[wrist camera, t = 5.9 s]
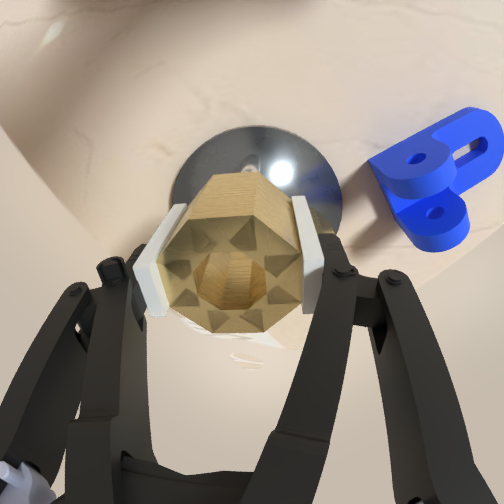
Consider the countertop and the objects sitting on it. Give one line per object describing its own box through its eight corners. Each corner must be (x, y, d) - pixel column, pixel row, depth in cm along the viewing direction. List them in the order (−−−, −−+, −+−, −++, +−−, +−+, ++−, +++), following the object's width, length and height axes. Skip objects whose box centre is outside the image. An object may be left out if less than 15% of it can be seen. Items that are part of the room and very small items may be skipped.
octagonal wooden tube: (183, 177, 16) (145, 223, 11) (290, 169, 16) (302, 212, 11) (199, 266, 19) (178, 332, 14) (292, 262, 19) (300, 330, 14)
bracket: (395, 220, 32) (427, 263, 24) (367, 159, 28) (400, 188, 21) (500, 157, 26) (545, 184, 18) (483, 97, 22) (534, 111, 15)
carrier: (162, 136, 28) (129, 155, 21) (340, 122, 26) (366, 137, 19) (191, 278, 37) (176, 324, 30) (335, 272, 36) (348, 319, 29)
